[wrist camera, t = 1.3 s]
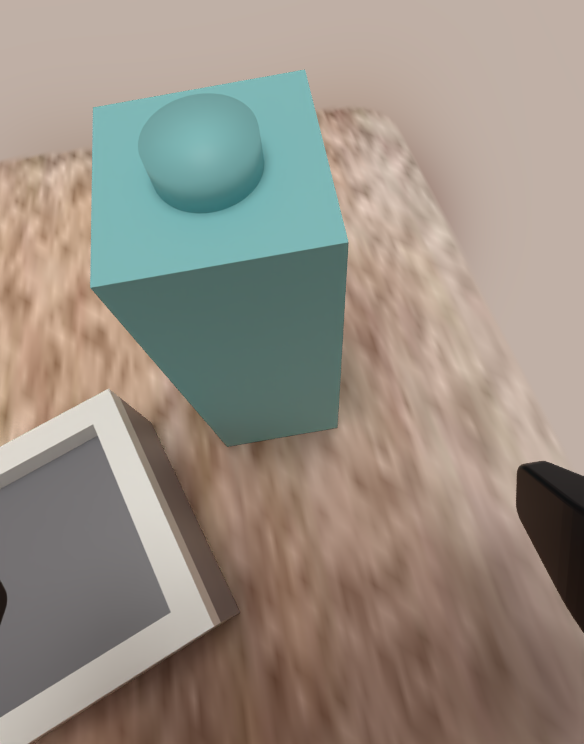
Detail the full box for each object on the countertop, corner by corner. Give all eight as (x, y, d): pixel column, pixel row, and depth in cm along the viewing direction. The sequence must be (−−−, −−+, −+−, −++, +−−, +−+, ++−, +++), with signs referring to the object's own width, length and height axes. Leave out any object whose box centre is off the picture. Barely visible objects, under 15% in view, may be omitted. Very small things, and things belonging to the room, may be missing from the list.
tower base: (240, 612, 18) (214, 626, 14) (24, 748, 17) (-74, 807, 13) (150, 422, 22) (108, 388, 17) (-36, 525, 20) (-129, 515, 16)
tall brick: (337, 427, 21) (349, 213, 8) (227, 446, 21) (68, 263, 8) (317, 330, 23) (303, 33, 10) (217, 347, 23) (76, 74, 10)
